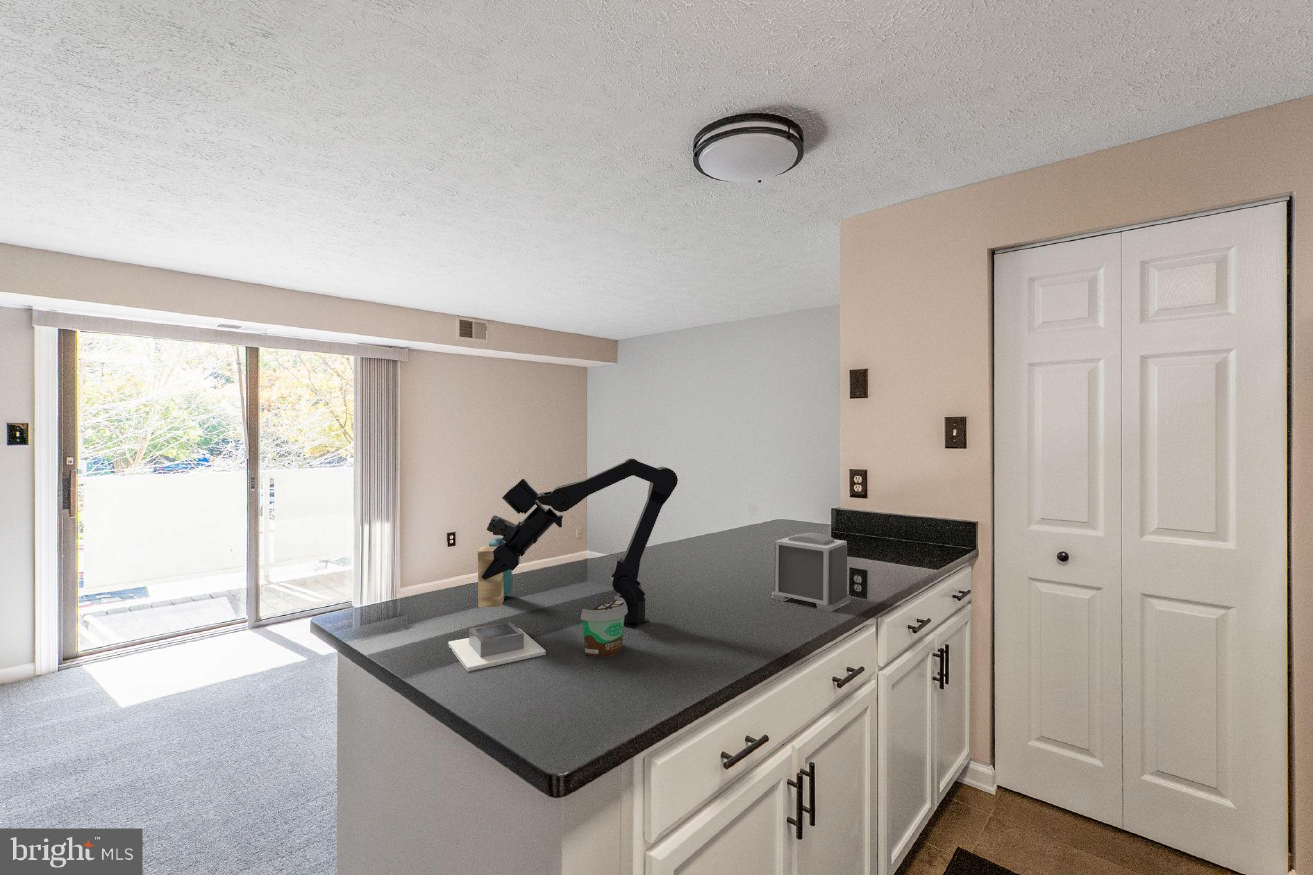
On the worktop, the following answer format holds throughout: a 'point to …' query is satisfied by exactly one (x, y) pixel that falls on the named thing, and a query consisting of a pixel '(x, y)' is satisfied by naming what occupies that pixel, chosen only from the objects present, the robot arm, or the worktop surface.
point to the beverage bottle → (507, 574)
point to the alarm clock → (811, 569)
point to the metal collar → (496, 639)
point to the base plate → (475, 662)
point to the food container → (604, 628)
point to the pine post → (489, 581)
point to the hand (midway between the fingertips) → (484, 575)
